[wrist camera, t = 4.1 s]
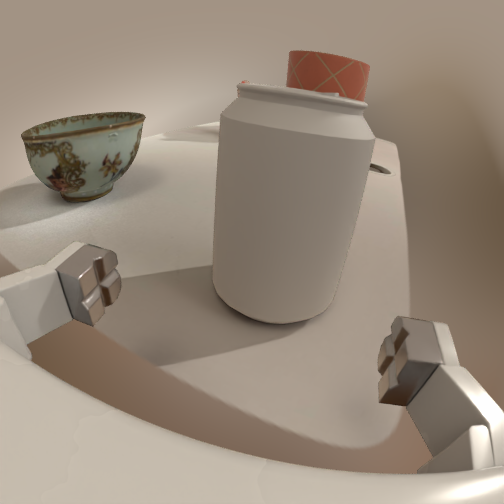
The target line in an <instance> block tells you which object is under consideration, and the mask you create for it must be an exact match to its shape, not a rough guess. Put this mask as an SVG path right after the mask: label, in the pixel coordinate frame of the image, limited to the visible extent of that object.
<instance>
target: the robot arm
mask: <svg viewBox="0 0 504 504" xmlns="http://www.w3.org/2000/svg"><path fill="white" fill-rule="evenodd" d="M117 265H118V261H117V256H116V254H115V253H114V252H113V251H111V250H107V249H104V248H101V247H97V246H94V245H91V244H87V243H83V242H80V241H74V242H72V243H71V244H70V245H68V246H67V247H66V248H64V249H63V250H62V251H61V252H59V253H58V254H57V255H56V256H54V257H53V258H52V259H51V260H49V261H48V262H47V263H46V264H44V265H37V266H34V267H31V268H28V269H25V270H22V271H19V272H16V273H13V274H10V275H8V276H4V277H1V278H0V504H504V412H503V411H502V410H501V409H500V407H499V406H498V405H497V404H496V403H495V402H494V400H493V399H492V398H491V397H490V396H489V394H488V393H487V392H486V391H485V390H484V389H483V387H482V386H481V385H480V384H479V383H478V382H477V381H476V380H475V378H474V377H473V376H472V375H471V374H470V373H469V372H468V371H467V369H466V368H465V367H460V364H459V360H458V357H457V353H456V350H455V346H454V343H453V340H452V336H451V333H450V330H449V327H448V325H447V324H446V323H441V322H435V321H425V320H419V319H414V318H408V317H402V316H397V317H396V319H395V320H394V322H393V324H392V325H391V331H392V334H391V335H389V336H388V337H386V338H385V339H384V341H383V343H382V345H381V348H380V352H379V355H378V371H379V373H380V374H381V375H382V378H381V380H380V381H379V383H378V391H379V403H384V404H392V405H399V406H407V407H406V409H407V411H408V413H409V414H410V416H411V418H412V420H413V421H414V423H415V425H416V427H417V428H418V430H419V432H420V434H421V436H422V438H423V439H424V441H425V443H426V445H427V447H428V449H429V451H430V452H431V454H432V456H433V459H431V460H430V461H428V462H427V463H426V464H424V465H423V466H421V467H420V468H419V469H418V470H417V474H381V473H363V472H350V471H340V470H331V469H323V468H315V467H309V466H303V465H297V464H291V463H285V462H280V461H275V460H270V459H266V458H261V457H257V456H253V455H248V454H244V453H240V452H237V451H233V450H229V449H225V448H221V447H218V446H215V445H212V444H208V443H205V442H202V441H199V440H196V439H193V438H190V437H187V436H184V435H181V434H178V433H175V432H173V431H170V430H167V429H165V428H162V427H159V426H156V425H154V424H152V423H149V422H147V421H144V420H142V419H140V418H137V417H135V416H133V415H130V414H128V413H126V412H123V411H121V410H119V409H117V408H115V407H112V406H111V405H109V404H106V403H104V402H102V401H100V400H98V399H96V398H94V397H92V396H90V395H88V394H86V393H85V392H83V391H81V390H79V389H77V388H75V387H73V386H72V385H70V384H68V383H66V382H65V381H63V380H61V379H59V378H58V377H56V376H54V375H53V374H51V373H49V372H48V371H46V370H44V369H43V368H41V367H40V366H38V365H37V364H35V363H33V362H32V361H30V360H31V359H32V354H31V352H30V350H29V348H28V347H27V344H29V343H31V342H33V341H34V340H36V339H38V338H40V337H42V336H44V335H46V334H47V333H49V332H51V331H53V330H55V329H57V328H59V327H61V326H62V325H64V324H66V323H68V322H70V321H72V320H73V319H75V320H77V321H80V322H82V323H85V324H87V325H90V326H92V327H93V326H94V325H95V324H96V323H97V322H98V320H99V319H100V318H101V317H102V316H103V315H104V313H105V307H106V306H109V305H111V304H113V303H114V302H115V300H116V299H117V298H118V296H119V293H120V290H121V277H120V275H119V273H118V272H117V270H116V269H115V268H116V266H117Z"/></svg>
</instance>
